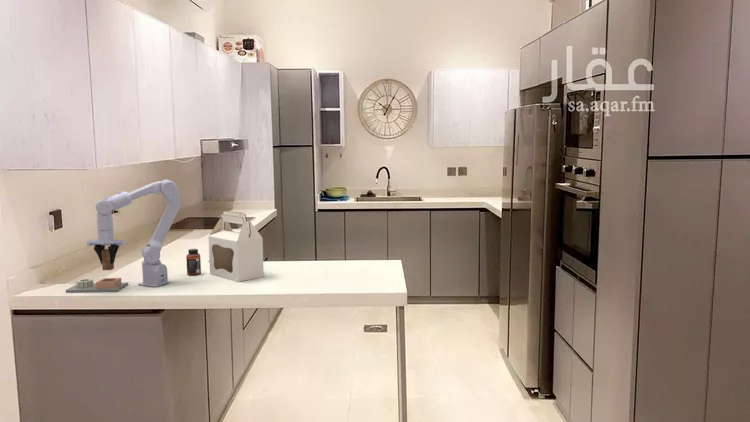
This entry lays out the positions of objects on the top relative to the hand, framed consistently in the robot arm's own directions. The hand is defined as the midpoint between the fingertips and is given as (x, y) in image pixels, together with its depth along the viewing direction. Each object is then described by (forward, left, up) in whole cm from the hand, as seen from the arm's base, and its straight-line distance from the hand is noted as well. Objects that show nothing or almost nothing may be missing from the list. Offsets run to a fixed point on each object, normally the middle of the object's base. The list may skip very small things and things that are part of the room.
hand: (107, 263), depth 228 cm
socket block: (+4, +2, -10) cm, 11 cm away
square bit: (0, 0, -3) cm, 3 cm away
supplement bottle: (-16, -32, -11) cm, 37 cm away
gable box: (-35, -37, -11) cm, 52 cm away
